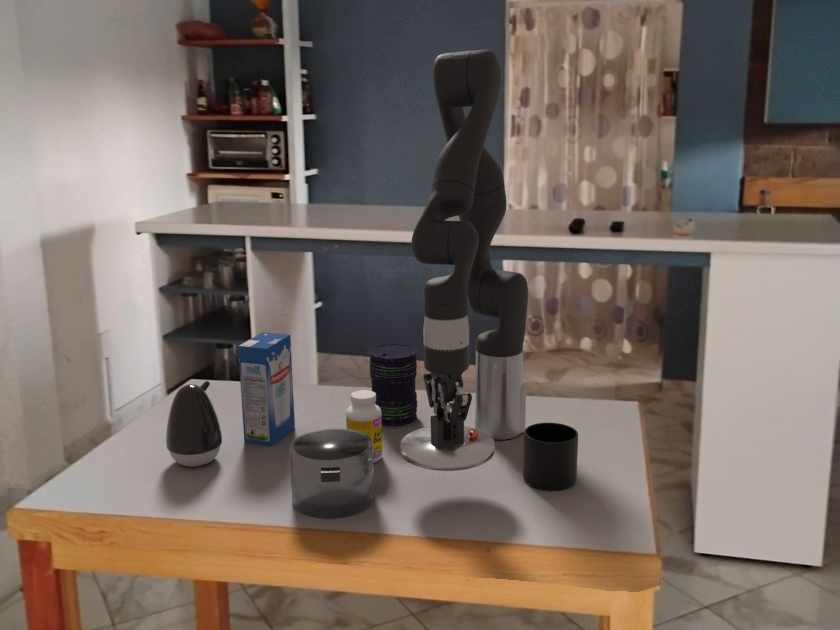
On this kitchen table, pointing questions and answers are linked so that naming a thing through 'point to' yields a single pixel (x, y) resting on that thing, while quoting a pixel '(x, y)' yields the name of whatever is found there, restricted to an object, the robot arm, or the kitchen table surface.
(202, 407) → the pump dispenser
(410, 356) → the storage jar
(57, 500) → the kitchen table surface
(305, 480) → the pot
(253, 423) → the milk carton
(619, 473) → the kitchen table surface
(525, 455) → the mug
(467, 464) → the lid
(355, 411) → the supplement bottle
